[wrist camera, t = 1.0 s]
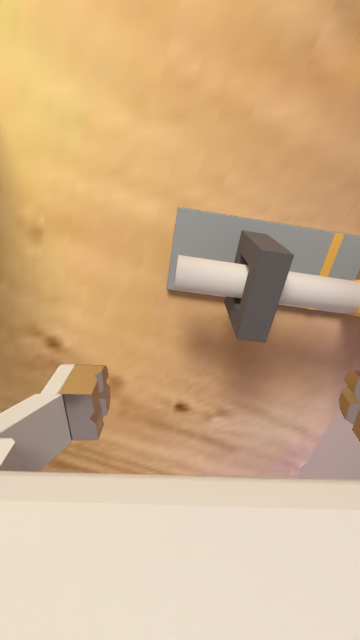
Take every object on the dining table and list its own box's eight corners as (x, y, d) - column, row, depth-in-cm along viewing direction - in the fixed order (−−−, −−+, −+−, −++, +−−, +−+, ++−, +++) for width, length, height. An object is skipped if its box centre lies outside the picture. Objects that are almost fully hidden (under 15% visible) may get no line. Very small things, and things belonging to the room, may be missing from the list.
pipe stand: (166, 286, 36) (161, 337, 25) (178, 206, 32) (177, 227, 21) (365, 314, 37) (440, 373, 27) (400, 242, 33) (504, 277, 23)
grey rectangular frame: (224, 302, 32) (236, 338, 25) (241, 230, 29) (261, 249, 22) (247, 305, 32) (265, 342, 25) (267, 234, 29) (294, 254, 22)
